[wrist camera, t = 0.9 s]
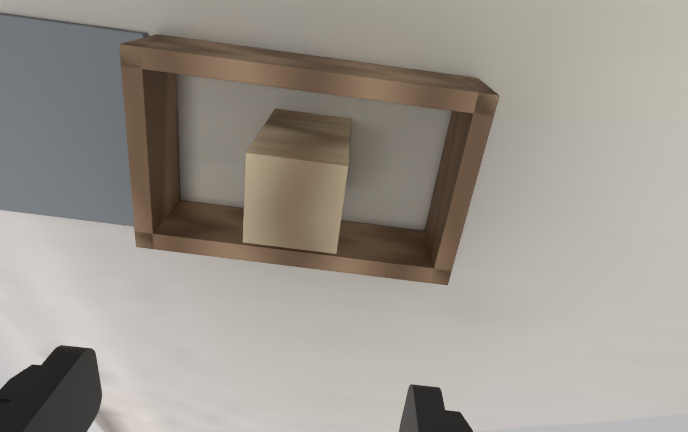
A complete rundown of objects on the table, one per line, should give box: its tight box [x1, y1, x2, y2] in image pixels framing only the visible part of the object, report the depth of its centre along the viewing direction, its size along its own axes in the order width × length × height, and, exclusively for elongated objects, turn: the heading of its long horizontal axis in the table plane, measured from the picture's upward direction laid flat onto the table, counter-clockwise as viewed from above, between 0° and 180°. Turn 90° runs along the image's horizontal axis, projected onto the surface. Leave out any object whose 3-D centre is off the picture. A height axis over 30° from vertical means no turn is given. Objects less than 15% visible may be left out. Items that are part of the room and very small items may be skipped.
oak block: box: [243, 109, 351, 254], centre depth 25 cm, size 4×4×8 cm
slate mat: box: [0, 13, 148, 226], centre depth 28 cm, size 11×12×1 cm
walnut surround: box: [119, 34, 499, 285], centre depth 27 cm, size 18×11×4 cm, turn 83°
